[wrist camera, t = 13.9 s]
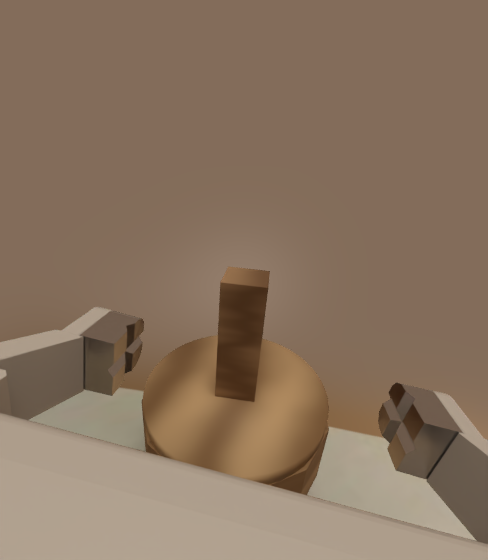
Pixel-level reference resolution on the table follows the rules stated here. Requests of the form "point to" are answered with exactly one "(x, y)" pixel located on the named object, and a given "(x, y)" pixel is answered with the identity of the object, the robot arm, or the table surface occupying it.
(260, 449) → the oak lid
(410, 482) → the table surface
